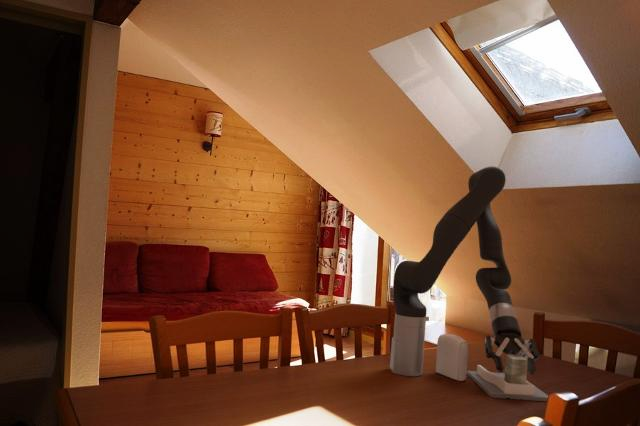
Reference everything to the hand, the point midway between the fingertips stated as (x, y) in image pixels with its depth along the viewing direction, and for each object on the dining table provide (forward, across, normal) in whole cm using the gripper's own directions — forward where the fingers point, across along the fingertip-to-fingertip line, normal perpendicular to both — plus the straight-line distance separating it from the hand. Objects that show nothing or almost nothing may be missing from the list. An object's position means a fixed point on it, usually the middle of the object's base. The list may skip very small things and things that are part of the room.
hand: (516, 372), depth 143 cm
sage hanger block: (+3, 0, +4) cm, 5 cm away
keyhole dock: (-1, 0, +10) cm, 10 cm away
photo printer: (-6, -14, +15) cm, 21 cm away
